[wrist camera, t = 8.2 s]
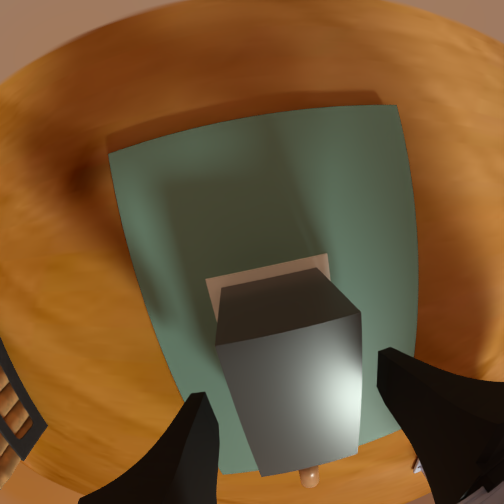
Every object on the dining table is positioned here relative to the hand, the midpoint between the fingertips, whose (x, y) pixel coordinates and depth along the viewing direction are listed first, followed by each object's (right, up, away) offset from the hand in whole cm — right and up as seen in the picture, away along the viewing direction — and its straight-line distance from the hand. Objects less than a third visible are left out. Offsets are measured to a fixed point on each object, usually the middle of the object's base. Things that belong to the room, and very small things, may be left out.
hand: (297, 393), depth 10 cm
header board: (+1, +1, +4) cm, 5 cm away
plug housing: (0, -1, +4) cm, 4 cm away
